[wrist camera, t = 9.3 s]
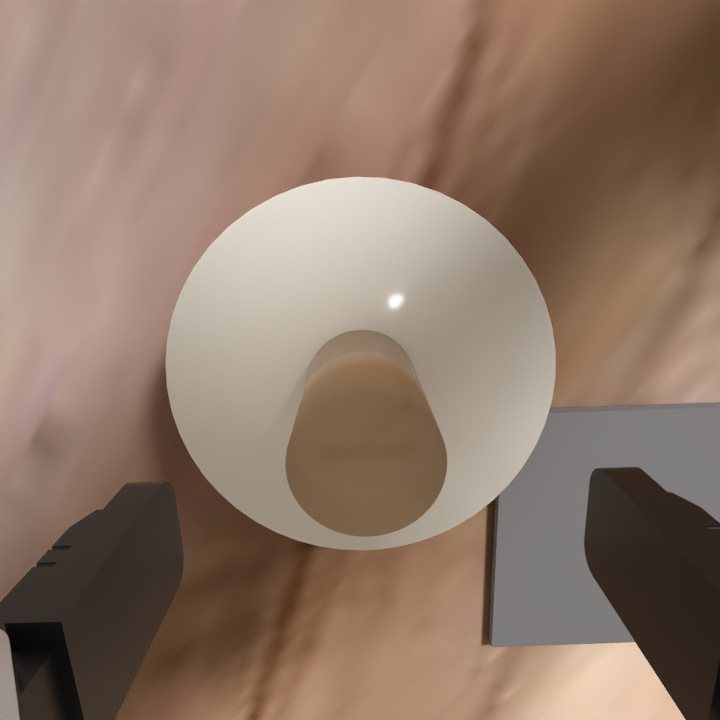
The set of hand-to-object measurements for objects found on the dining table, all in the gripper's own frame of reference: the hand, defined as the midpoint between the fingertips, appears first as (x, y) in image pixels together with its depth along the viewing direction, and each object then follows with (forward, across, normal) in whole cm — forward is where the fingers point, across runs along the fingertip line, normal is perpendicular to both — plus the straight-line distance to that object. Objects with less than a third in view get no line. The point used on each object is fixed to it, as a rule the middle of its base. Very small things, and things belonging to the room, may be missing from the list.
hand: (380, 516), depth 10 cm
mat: (+14, -12, +10) cm, 21 cm away
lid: (+9, 0, 0) cm, 9 cm away
